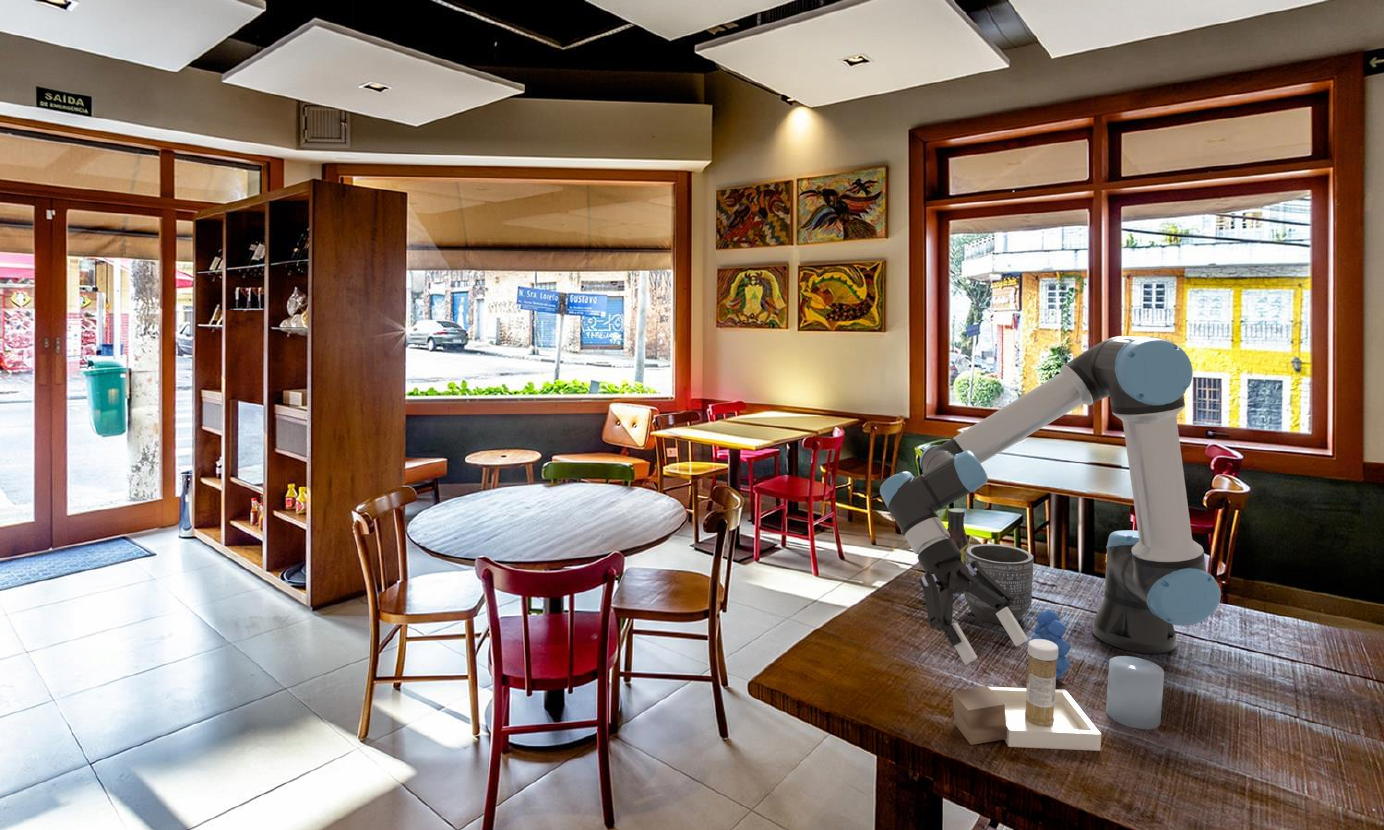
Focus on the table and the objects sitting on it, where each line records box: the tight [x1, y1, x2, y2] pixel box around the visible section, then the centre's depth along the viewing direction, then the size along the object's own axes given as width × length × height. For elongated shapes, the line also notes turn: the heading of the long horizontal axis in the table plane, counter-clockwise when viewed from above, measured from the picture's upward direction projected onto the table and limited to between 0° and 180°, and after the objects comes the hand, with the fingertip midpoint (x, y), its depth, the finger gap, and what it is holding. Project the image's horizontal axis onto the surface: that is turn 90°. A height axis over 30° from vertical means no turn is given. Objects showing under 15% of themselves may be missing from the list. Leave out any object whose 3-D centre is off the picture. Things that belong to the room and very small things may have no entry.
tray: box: [988, 686, 1102, 752], centre depth 124 cm, size 14×14×3 cm
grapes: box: [1030, 609, 1071, 680], centre depth 142 cm, size 12×7×12 cm, turn 177°
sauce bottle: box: [946, 508, 970, 564], centre depth 186 cm, size 7×6×20 cm
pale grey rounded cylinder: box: [1105, 655, 1165, 730], centre depth 127 cm, size 8×11×9 cm
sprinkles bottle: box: [1025, 639, 1058, 726], centre depth 123 cm, size 5×5×13 cm
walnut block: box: [951, 685, 1007, 746], centre depth 121 cm, size 6×6×6 cm
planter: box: [963, 543, 1034, 626], centre depth 168 cm, size 14×14×15 cm
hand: (997, 652), depth 130 cm, fingers open, 13 cm apart
